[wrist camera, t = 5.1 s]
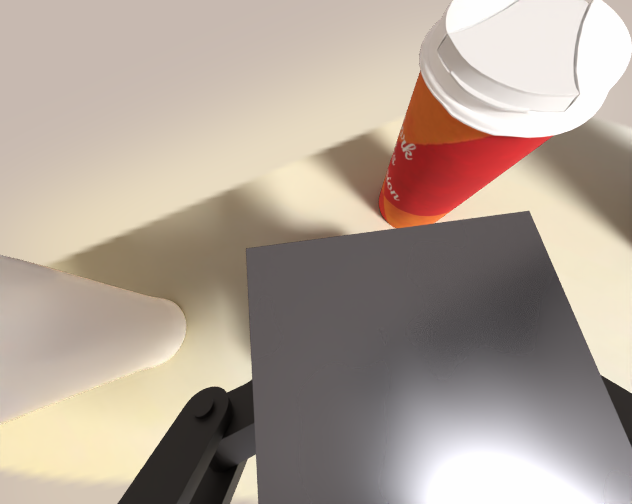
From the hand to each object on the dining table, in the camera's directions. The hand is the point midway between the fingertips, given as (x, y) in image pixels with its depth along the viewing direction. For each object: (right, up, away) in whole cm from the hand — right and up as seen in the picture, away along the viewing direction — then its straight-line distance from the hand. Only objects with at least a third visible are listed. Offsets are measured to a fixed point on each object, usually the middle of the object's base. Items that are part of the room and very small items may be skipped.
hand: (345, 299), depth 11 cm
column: (+1, -4, +8) cm, 9 cm away
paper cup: (+7, +7, +11) cm, 15 cm away
